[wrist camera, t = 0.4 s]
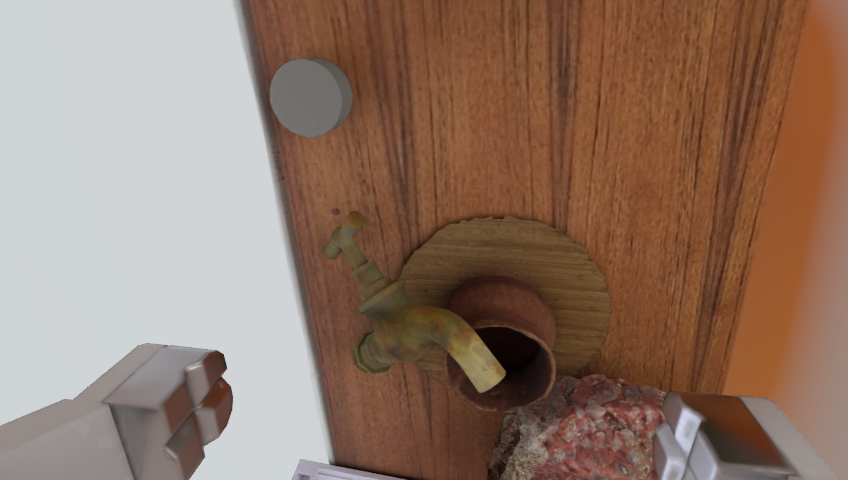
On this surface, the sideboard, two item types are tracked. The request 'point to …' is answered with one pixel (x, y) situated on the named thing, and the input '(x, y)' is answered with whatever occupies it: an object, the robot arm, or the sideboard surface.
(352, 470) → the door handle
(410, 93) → the sideboard surface
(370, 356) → the faucet
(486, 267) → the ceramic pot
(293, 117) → the cylinder
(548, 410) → the rock
